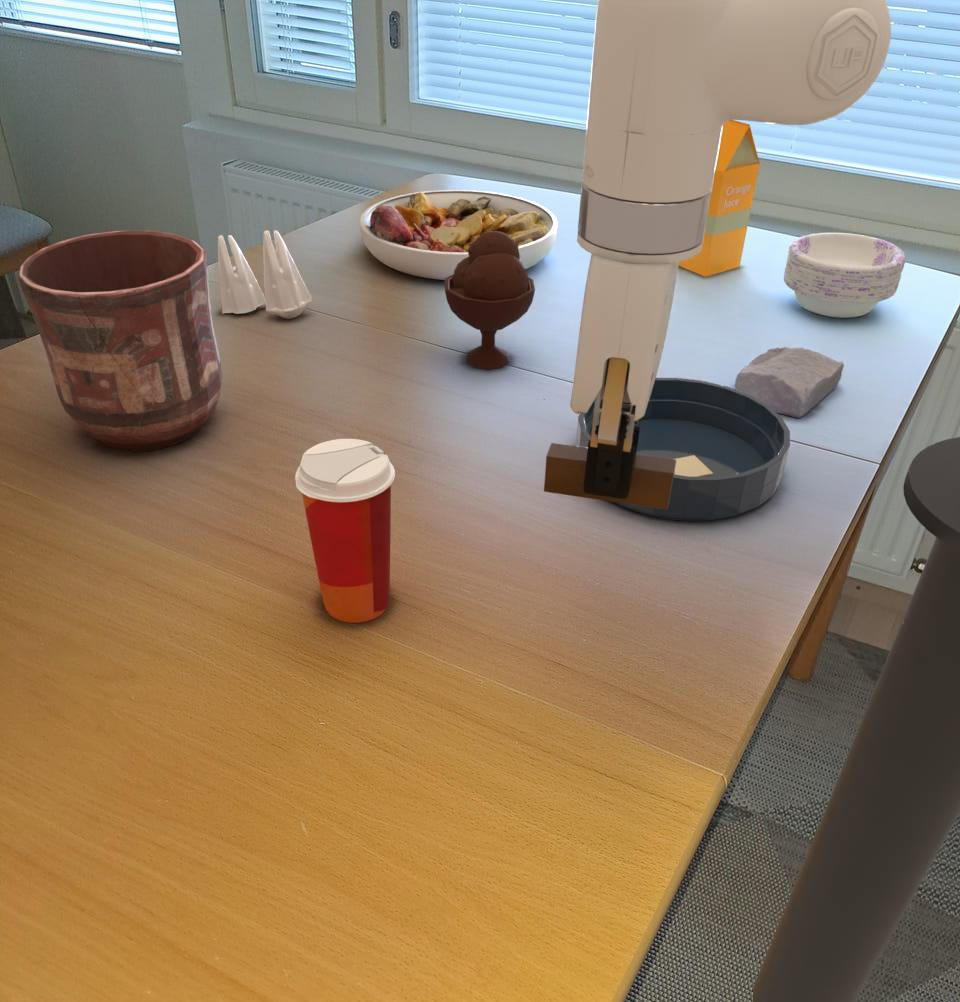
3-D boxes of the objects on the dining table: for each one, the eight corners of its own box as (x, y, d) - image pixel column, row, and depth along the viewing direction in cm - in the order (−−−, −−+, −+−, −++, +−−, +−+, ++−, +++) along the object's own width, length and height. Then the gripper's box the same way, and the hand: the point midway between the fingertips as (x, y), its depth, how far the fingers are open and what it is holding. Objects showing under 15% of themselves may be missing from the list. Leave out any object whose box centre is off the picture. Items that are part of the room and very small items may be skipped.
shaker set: (315, 313, 128) (306, 228, 121) (302, 325, 125) (293, 238, 118) (234, 302, 130) (221, 218, 123) (220, 314, 127) (206, 228, 120)
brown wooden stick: (543, 492, 69) (546, 455, 67) (548, 478, 70) (551, 442, 68) (667, 510, 67) (674, 473, 65) (670, 495, 69) (676, 459, 67)
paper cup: (371, 565, 85) (361, 425, 76) (418, 609, 81) (413, 466, 72) (294, 596, 82) (273, 454, 73) (339, 644, 77) (323, 498, 68)
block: (688, 486, 95) (694, 455, 93) (706, 504, 93) (713, 473, 90) (656, 492, 94) (662, 461, 92) (674, 511, 92) (680, 479, 89)
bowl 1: (483, 210, 162) (484, 160, 157) (595, 264, 144) (600, 209, 139) (327, 241, 149) (323, 188, 144) (428, 304, 131) (427, 246, 126)
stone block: (725, 412, 112) (807, 421, 107) (725, 371, 110) (810, 379, 104) (766, 380, 120) (845, 388, 114) (768, 342, 117) (849, 348, 111)
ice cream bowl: (432, 347, 120) (430, 225, 111) (514, 337, 123) (519, 217, 113) (458, 384, 113) (459, 256, 103) (544, 371, 116) (553, 246, 106)
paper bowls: (765, 285, 138) (777, 229, 133) (867, 285, 139) (883, 230, 134) (795, 328, 127) (809, 268, 122) (906, 328, 128) (925, 268, 122)
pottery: (235, 457, 99) (205, 286, 87) (59, 473, 96) (4, 299, 84) (231, 382, 112) (205, 224, 100) (76, 394, 109) (30, 233, 97)
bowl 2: (778, 432, 105) (789, 390, 102) (778, 538, 90) (791, 493, 86) (590, 408, 109) (594, 367, 106) (559, 506, 93) (563, 462, 90)
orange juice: (705, 277, 141) (730, 128, 127) (663, 259, 146) (683, 115, 133) (740, 266, 144) (769, 120, 131) (698, 250, 149) (721, 108, 136)
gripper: (599, 175, 63) (575, 426, 75) (556, 256, 51) (535, 537, 63) (713, 185, 61) (670, 439, 73) (696, 270, 50) (648, 555, 62)
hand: (608, 482), depth 68 cm, fingers closed on brown wooden stick, 2 cm apart
